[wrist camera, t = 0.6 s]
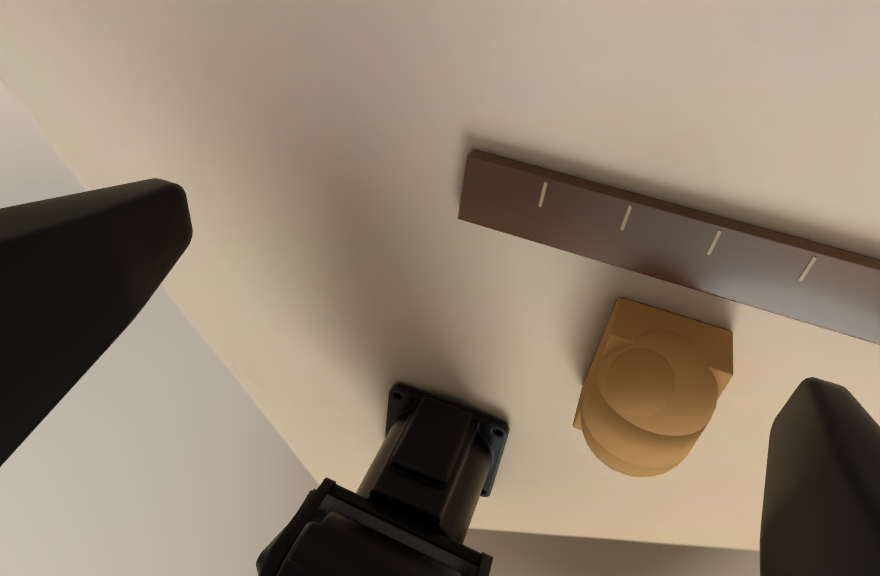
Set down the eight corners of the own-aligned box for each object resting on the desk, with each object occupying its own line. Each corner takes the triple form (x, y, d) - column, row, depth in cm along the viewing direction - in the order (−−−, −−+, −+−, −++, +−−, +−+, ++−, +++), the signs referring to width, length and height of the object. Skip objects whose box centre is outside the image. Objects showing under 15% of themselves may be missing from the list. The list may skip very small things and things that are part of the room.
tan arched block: (676, 426, 27) (669, 516, 23) (579, 393, 28) (559, 474, 24) (737, 323, 23) (739, 414, 19) (621, 288, 24) (604, 368, 20)
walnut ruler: (961, 359, 21) (966, 372, 20) (462, 211, 24) (456, 219, 24) (1021, 298, 19) (1028, 310, 18) (472, 148, 22) (466, 155, 22)
